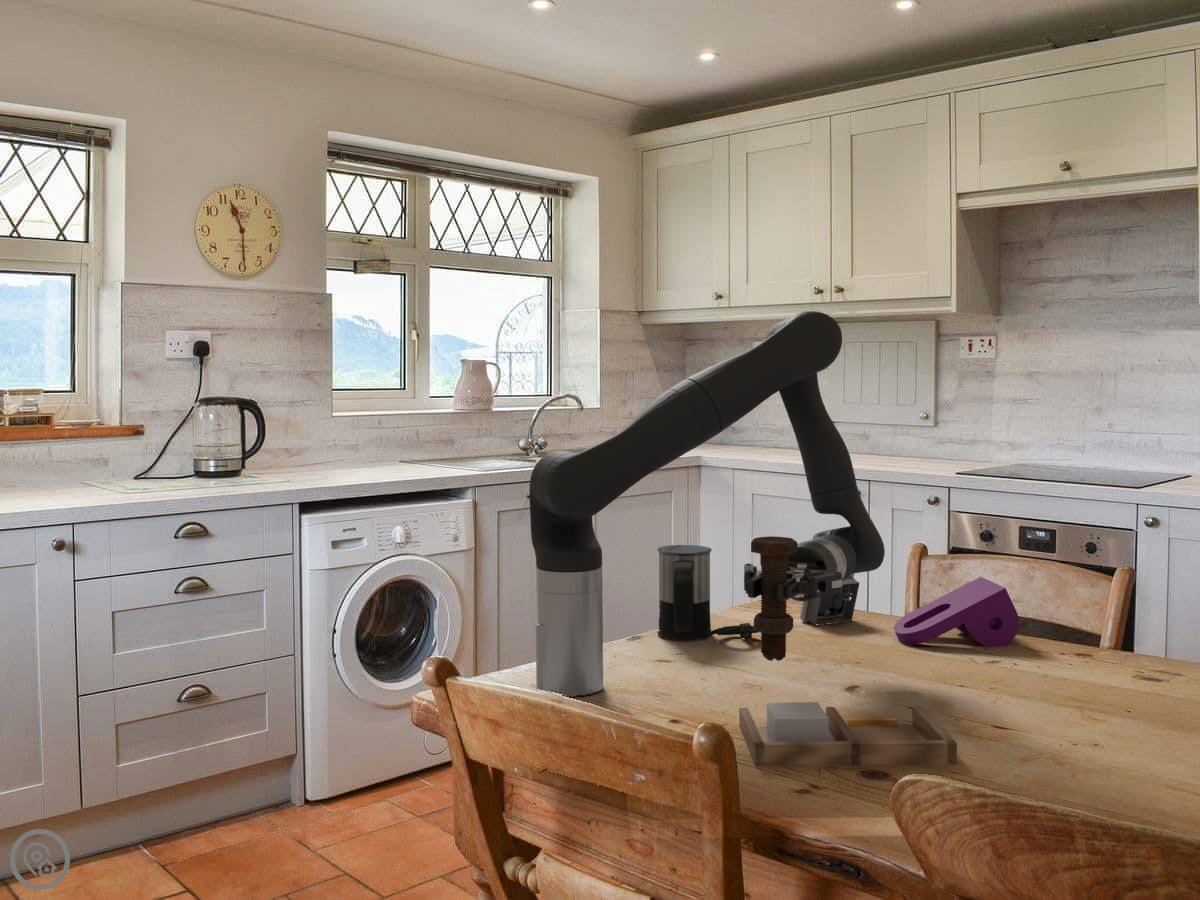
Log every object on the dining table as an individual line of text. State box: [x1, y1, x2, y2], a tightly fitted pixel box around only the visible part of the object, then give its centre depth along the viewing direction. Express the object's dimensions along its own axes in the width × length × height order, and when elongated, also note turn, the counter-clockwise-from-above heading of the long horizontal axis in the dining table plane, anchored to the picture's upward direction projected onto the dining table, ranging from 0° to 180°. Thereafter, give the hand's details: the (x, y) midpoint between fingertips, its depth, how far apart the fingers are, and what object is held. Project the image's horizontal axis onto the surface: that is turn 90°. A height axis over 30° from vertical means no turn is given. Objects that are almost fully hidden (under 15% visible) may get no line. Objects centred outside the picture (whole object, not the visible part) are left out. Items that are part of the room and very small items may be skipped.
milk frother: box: [656, 544, 759, 642], centre depth 177 cm, size 14×16×15 cm
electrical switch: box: [799, 573, 860, 626], centre depth 187 cm, size 9×5×9 cm, turn 113°
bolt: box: [750, 535, 798, 662], centre depth 133 cm, size 6×5×15 cm
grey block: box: [766, 701, 829, 742], centre depth 123 cm, size 6×6×4 cm
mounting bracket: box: [893, 576, 1020, 648], centre depth 175 cm, size 9×8×18 cm
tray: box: [738, 705, 958, 767], centre depth 123 cm, size 22×14×4 cm, turn 90°
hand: (765, 591), depth 130 cm, fingers closed on bolt, 3 cm apart
